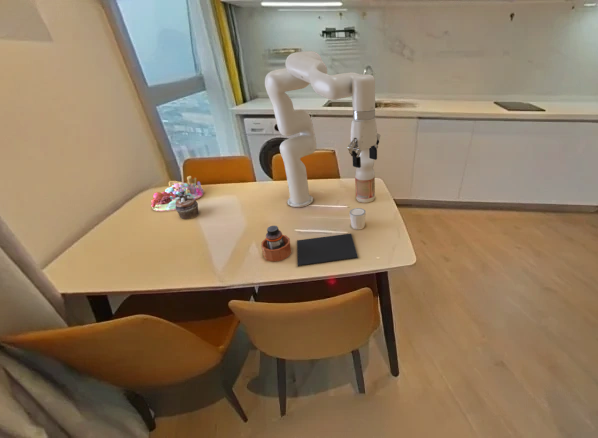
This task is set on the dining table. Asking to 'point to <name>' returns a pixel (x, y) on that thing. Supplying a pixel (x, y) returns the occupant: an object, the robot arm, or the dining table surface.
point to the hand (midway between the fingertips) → (365, 162)
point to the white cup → (357, 218)
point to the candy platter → (175, 194)
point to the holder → (276, 250)
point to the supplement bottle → (274, 238)
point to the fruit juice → (365, 178)
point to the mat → (325, 249)
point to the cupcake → (186, 206)
